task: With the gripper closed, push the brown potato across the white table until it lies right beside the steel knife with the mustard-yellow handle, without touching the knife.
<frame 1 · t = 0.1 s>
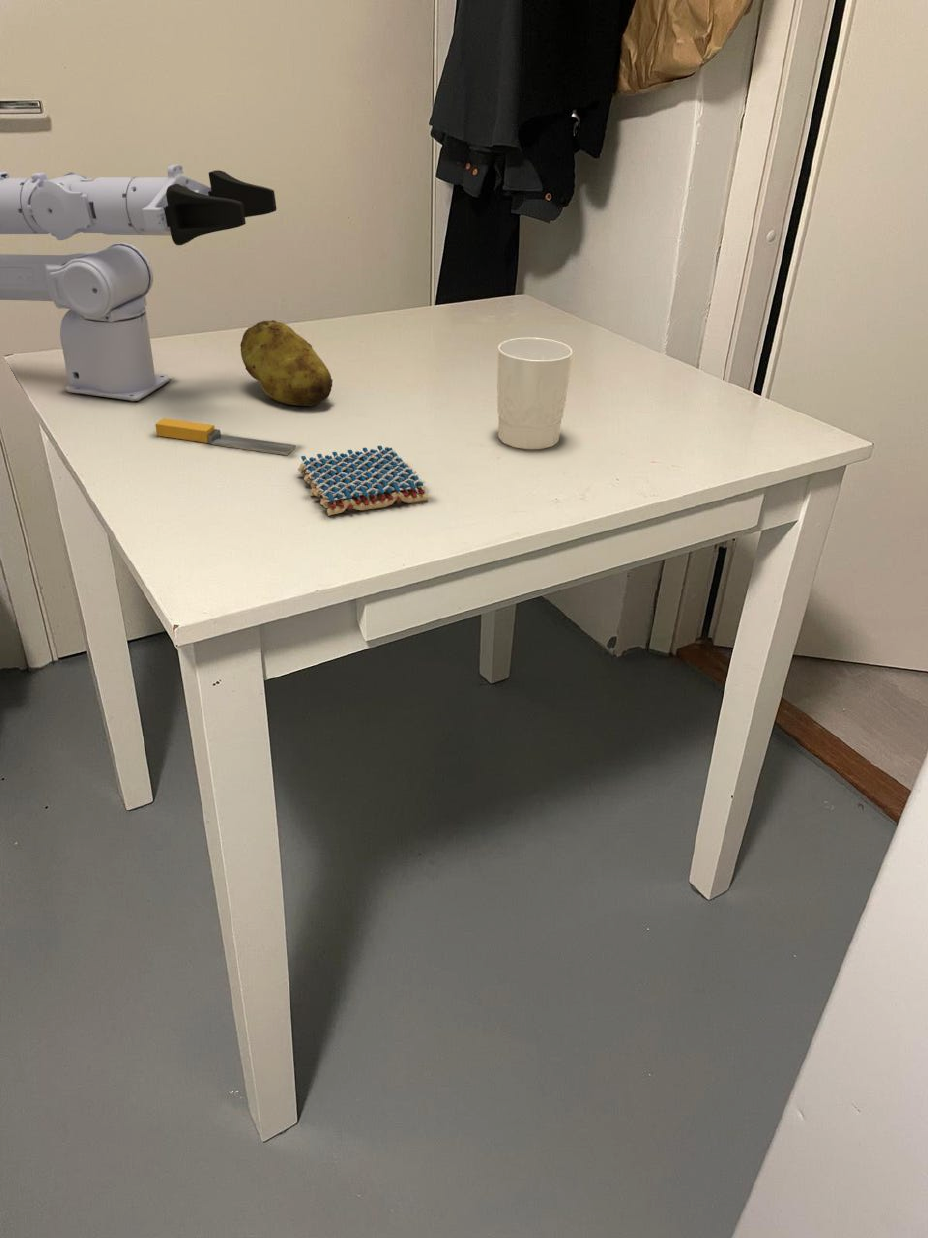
hand: (259, 206, 99), 22 cm above the table, tool horizontal, fingers open, 7 cm apart
knife: (225, 442, 102), on the table
potato: (286, 397, 114), on the table
white cup: (528, 439, 106), on the table
woven mat: (362, 490, 94), on the table
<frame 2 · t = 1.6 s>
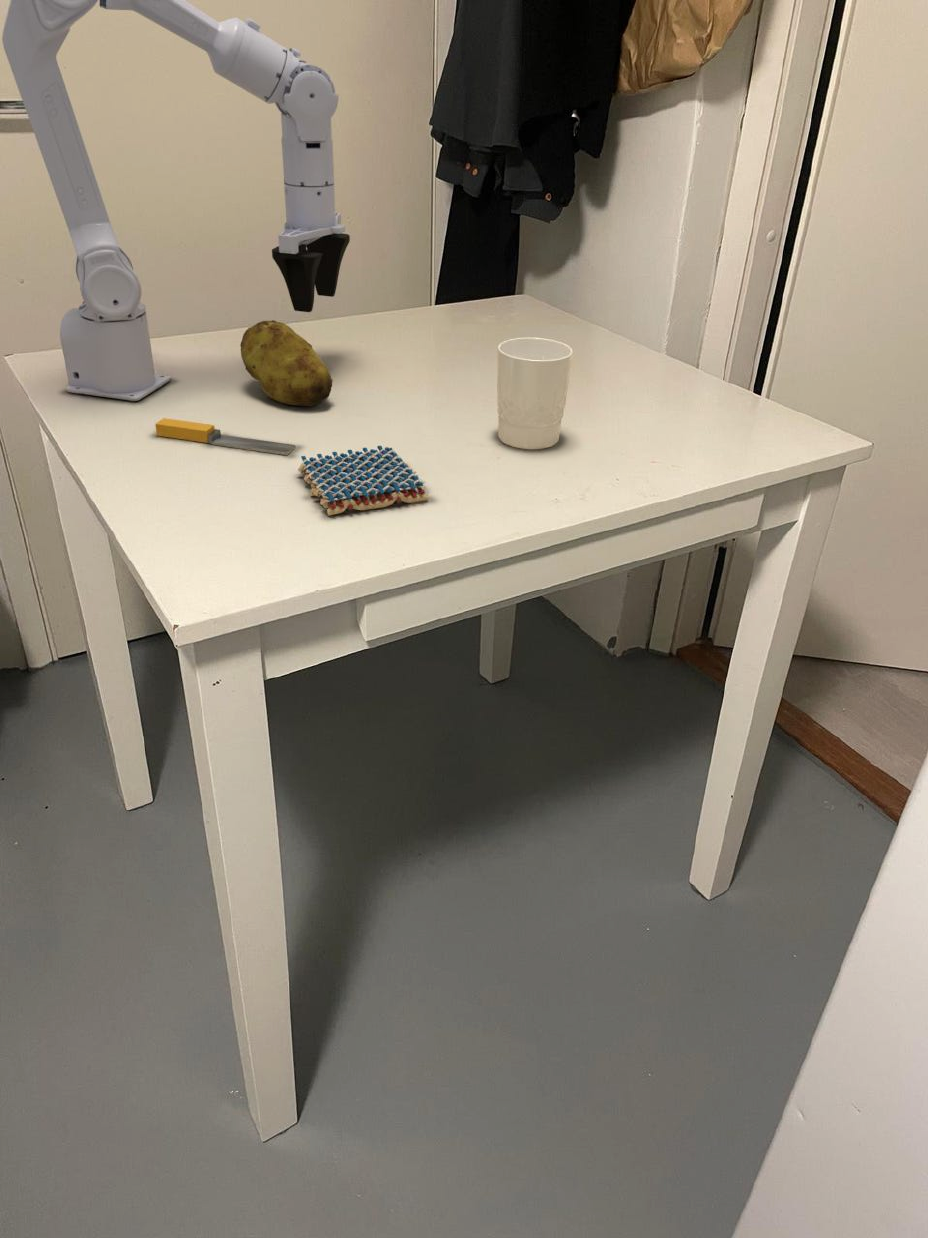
hand: (315, 302, 118), 8 cm above the table, tool pointing down, fingers open, 7 cm apart
nothing on the table moved.
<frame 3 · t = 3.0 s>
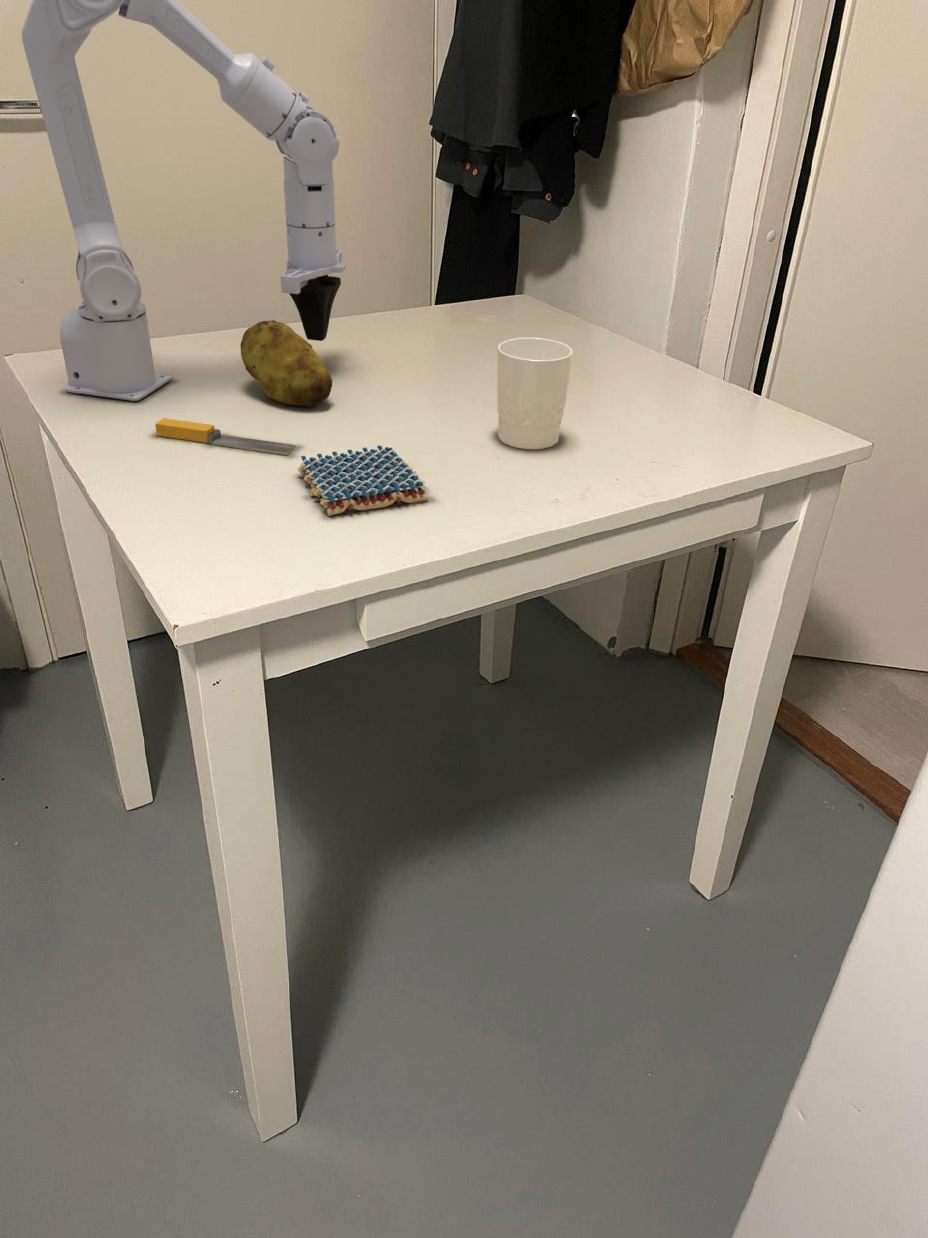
hand: (316, 338, 120), 4 cm above the table, tool pointing down, fingers closed
nothing on the table moved.
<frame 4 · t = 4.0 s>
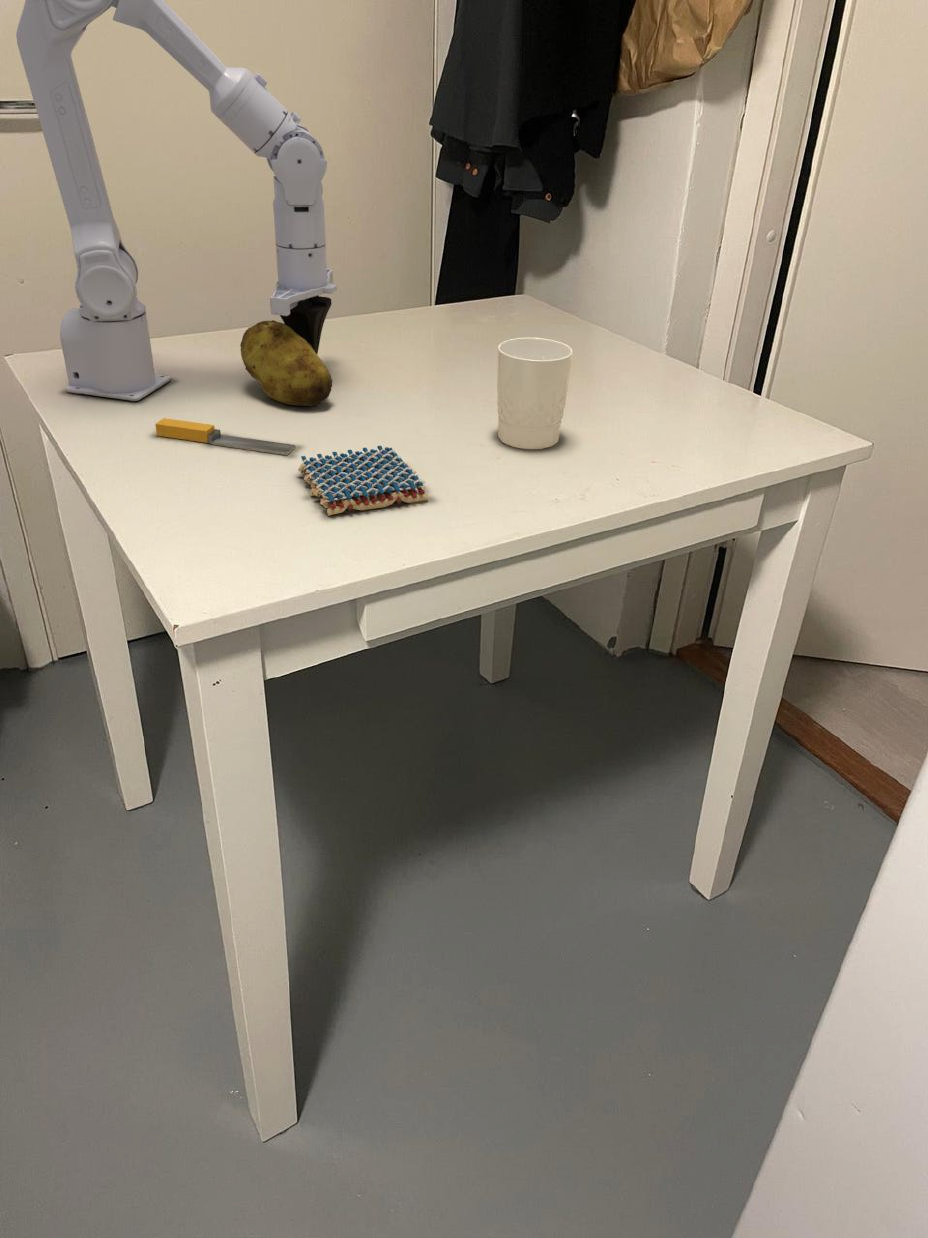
hand: (306, 359, 118), 2 cm above the table, tool pointing down, fingers closed
potato: (286, 397, 114), on the table, touching gripper
everything else where it was.
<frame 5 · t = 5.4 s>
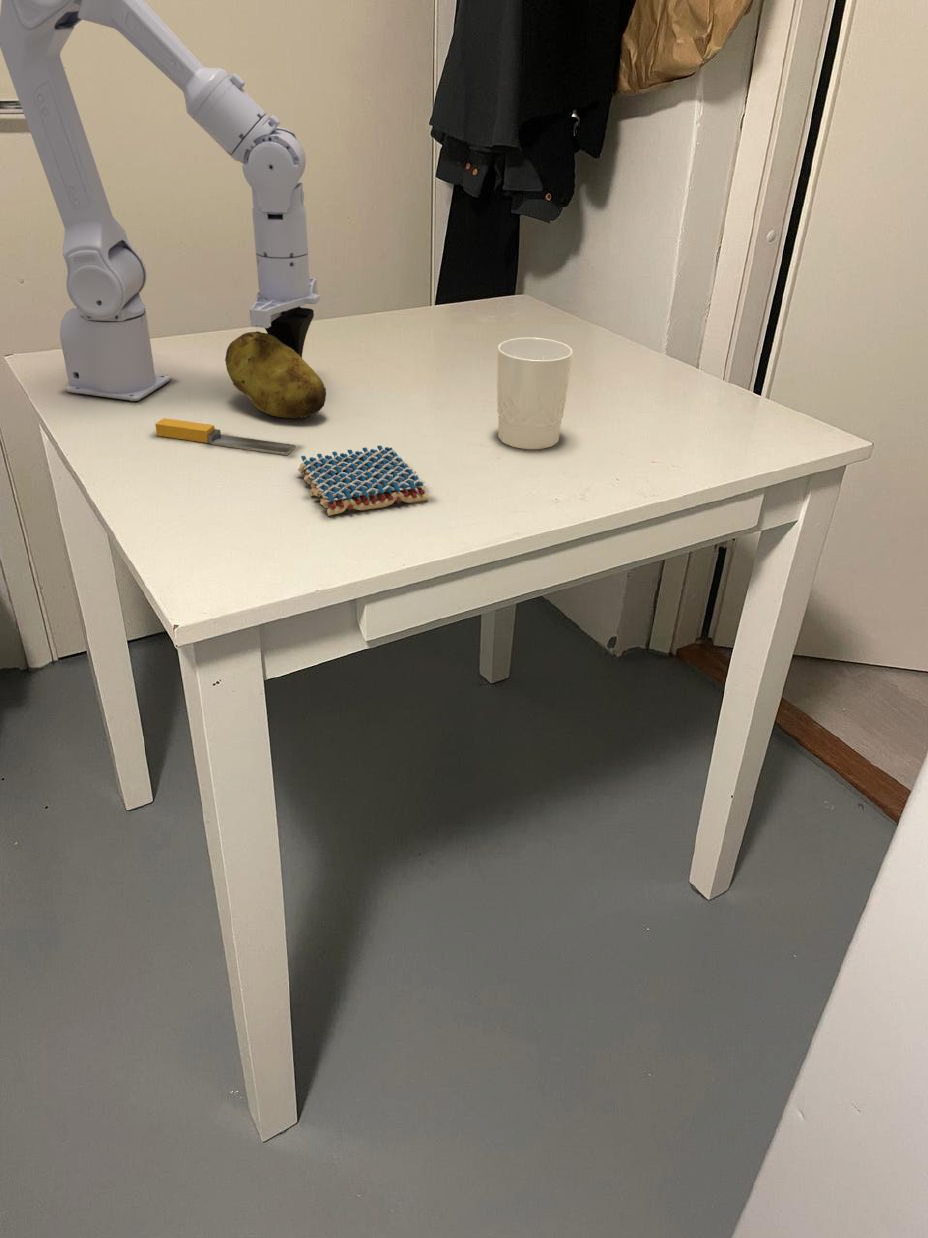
hand: (290, 372, 114), 3 cm above the table, tool pointing down, fingers closed
potato: (278, 410, 111), on the table, touching gripper
everything else where it was.
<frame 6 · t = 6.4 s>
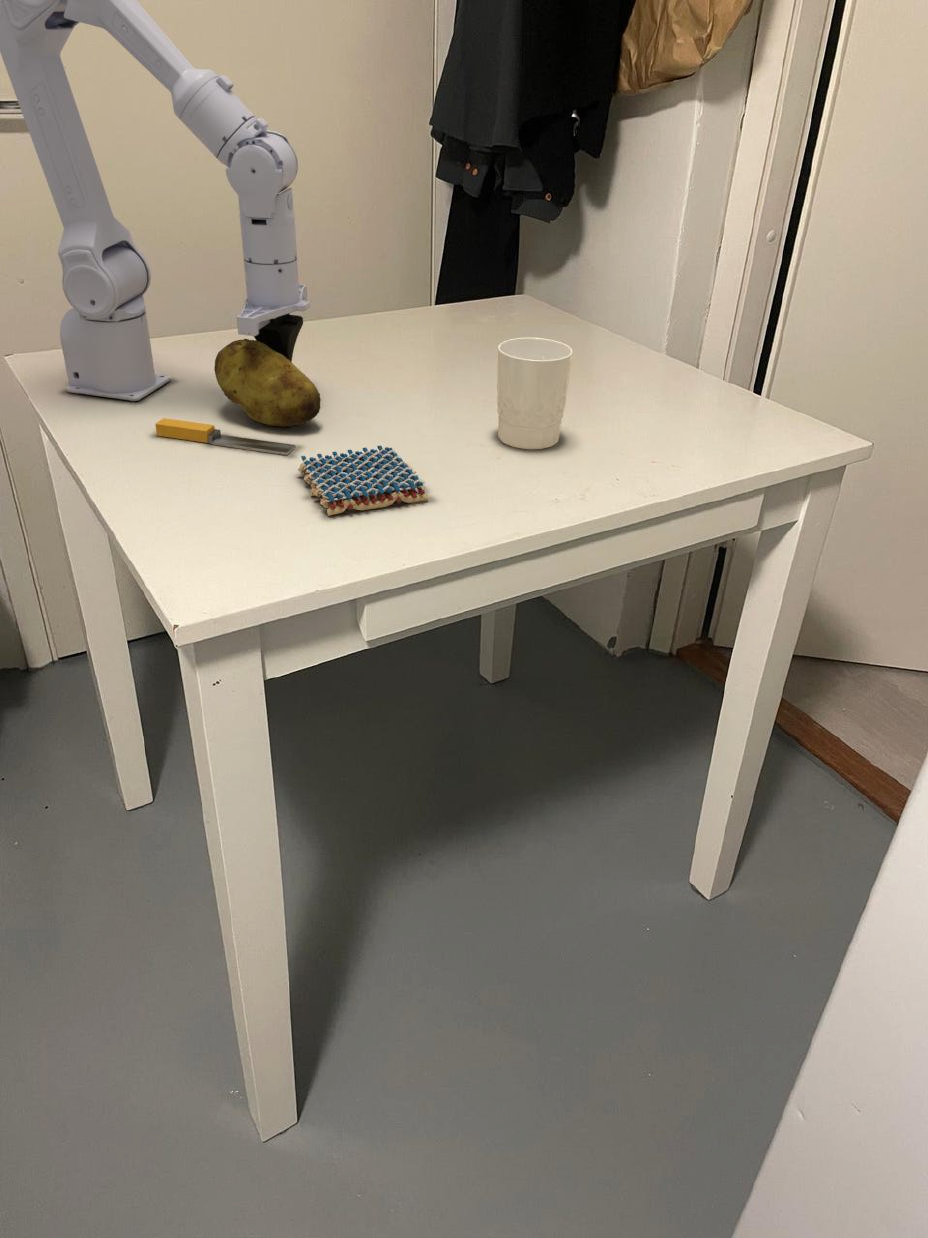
hand: (279, 380, 111), 3 cm above the table, tool pointing down, fingers closed
potato: (271, 418, 108), on the table, touching gripper
everything else where it was.
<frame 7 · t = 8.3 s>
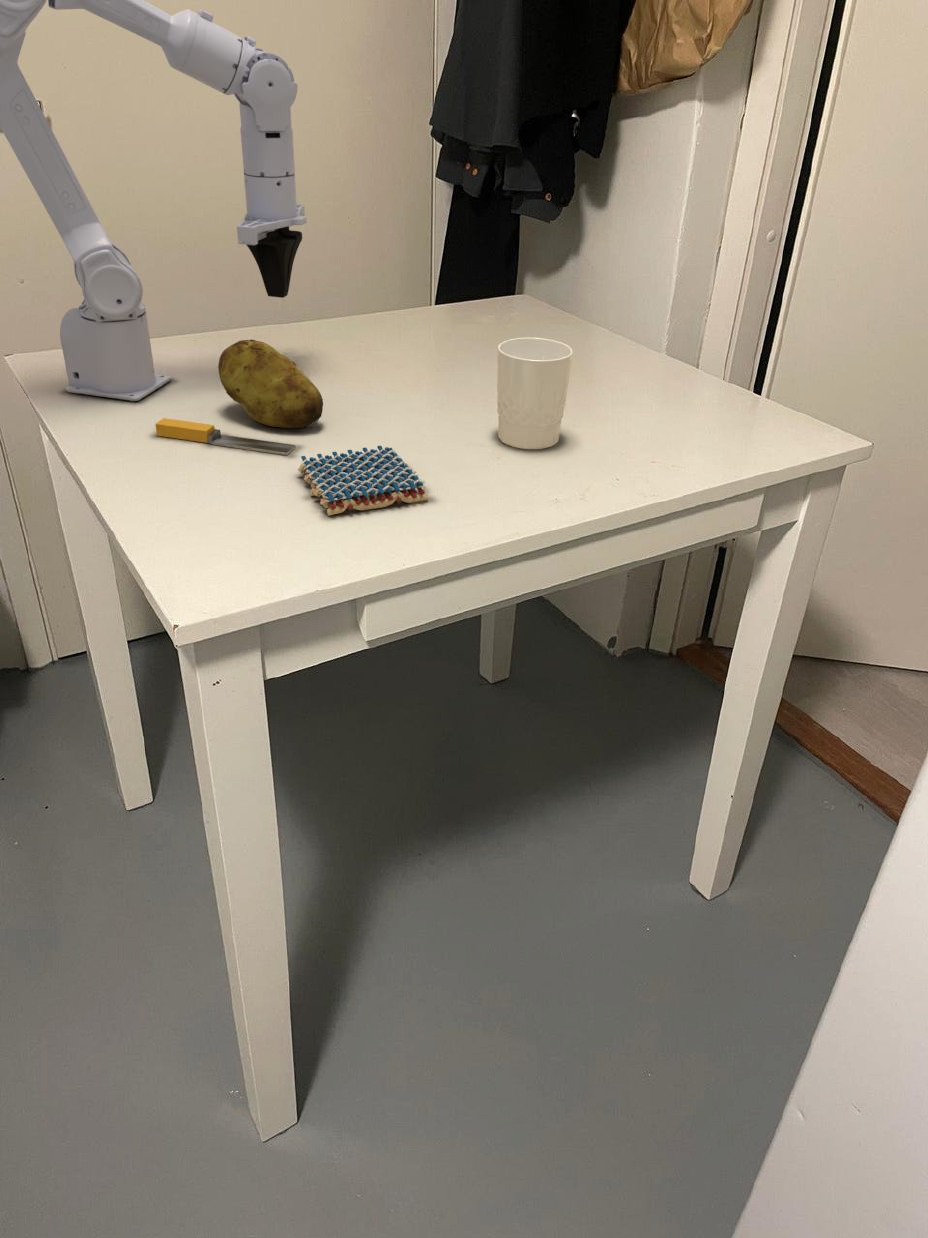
hand: (277, 295, 116), 9 cm above the table, tool pointing down, fingers closed
potato: (271, 419, 108), on the table
everything else where it was.
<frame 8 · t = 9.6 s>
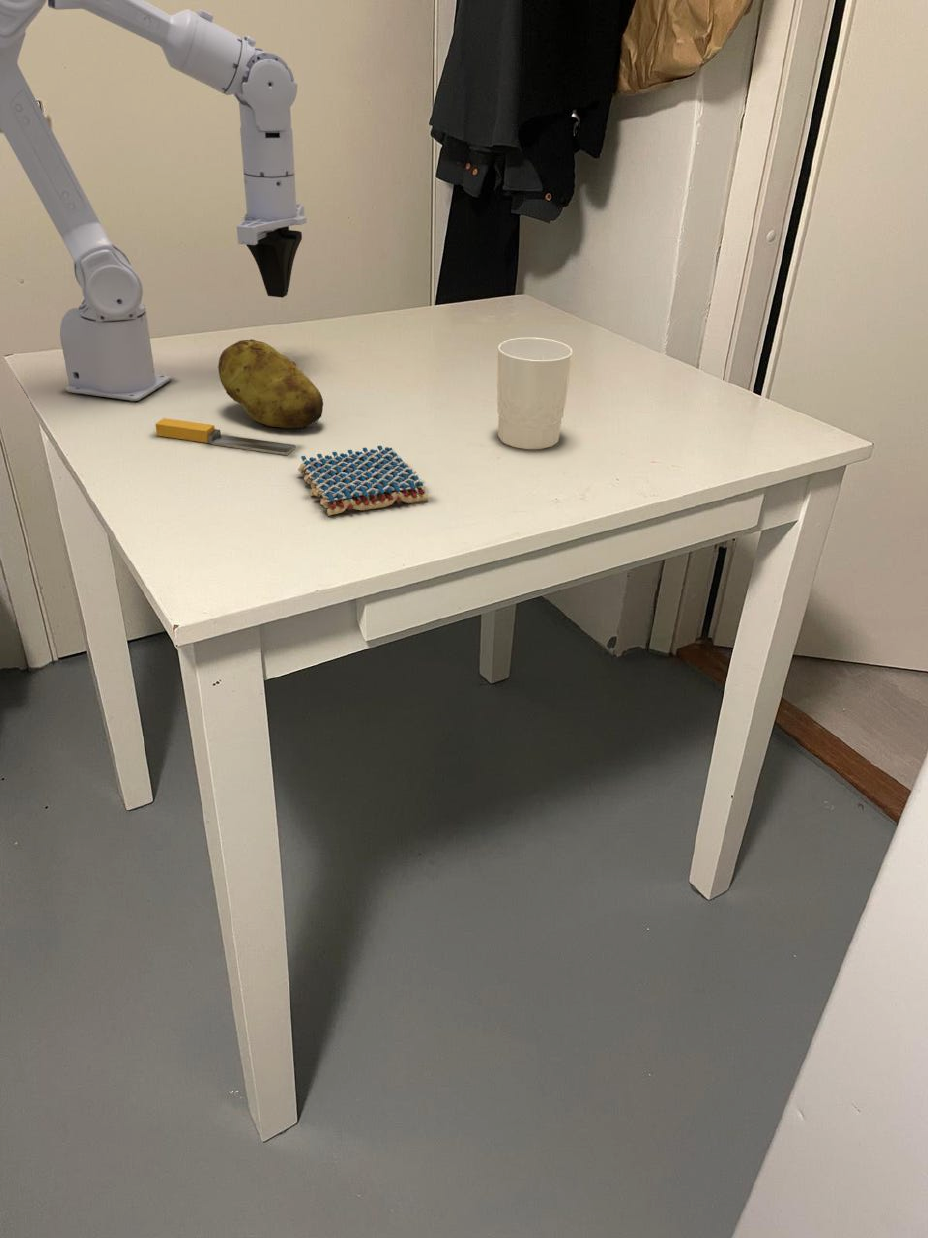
hand: (277, 295, 117), 9 cm above the table, tool pointing down, fingers closed
nothing on the table moved.
at the end: potato inside the target area on the table beside the knife (1.2 cm from its centre), on the table; knife moved 0.0 cm from its start; potato touching table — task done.
